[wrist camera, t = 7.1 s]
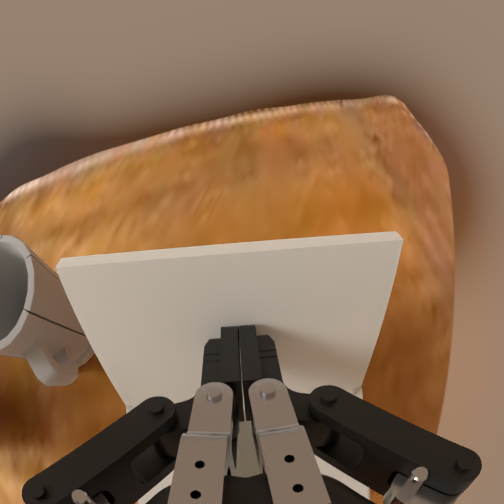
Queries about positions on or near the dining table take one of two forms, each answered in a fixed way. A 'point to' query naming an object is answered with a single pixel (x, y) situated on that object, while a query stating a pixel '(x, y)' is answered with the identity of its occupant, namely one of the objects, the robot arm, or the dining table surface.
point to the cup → (38, 316)
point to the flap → (234, 308)
